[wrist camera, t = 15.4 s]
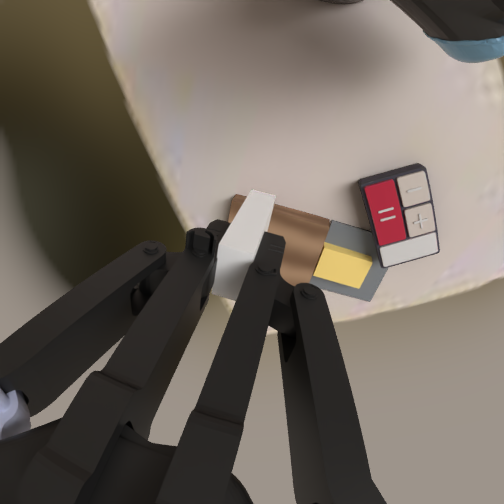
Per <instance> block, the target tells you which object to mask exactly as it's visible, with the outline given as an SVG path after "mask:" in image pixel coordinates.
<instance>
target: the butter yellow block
mask: <svg viewBox="0 0 504 504" xmlns="http://www.w3.org/2000/svg"><path fill="white" fill-rule="evenodd" d="M372 263H373V262H372V257H371V256H368V255H365V254H362V253H359V252H356V251H352V250H349V249H346V248H343V247H340V246H336V245H333V244H330V243H326V242H324V245H323V248H322V250H321V253H320V256H319V258H318V261H317V264H316V266H315V269H314V272H313V276H316V277H320V278H323V279H327V280H330V281H333V282H337V283H340V284H344V285H347V286H351V287H354V288H358V289H359V288H360V287H361V285H362V283H363V281H364V279H365V277H366V275H367V273H368V271H369V269H370V267H371V265H372Z"/></svg>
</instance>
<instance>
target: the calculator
mask: <svg viewBox="0 0 504 504" xmlns="http://www.w3.org/2000/svg"><path fill="white" fill-rule="evenodd" d="M358 183H359V187H360V190H361V193H362V197H363V200H364V204H365V208H366V211H367V215H368V219H369V222H370V226H371V230H372V234H373V238H374V243H375V247H376V251H377V256H378V260H379V263H380V266H381V268H387V267H391V266H395V265H398V264H402V263H405V262H409V261H413V260H416V259H420V258H423V257H426V256H430V255H433V254H437V253H439V251H440V249H439V240H438V232H437V225H436V218H435V212H434V206H433V200H432V194H431V189H430V184H429V179H428V175H427V170H426V168H425V167H424V166H422V165H421V164H419V163H417V164H413V165H410V166H406V167H402V168H399V169H395V170H391V171H388V172H384V173H381V174H377V175H373V176H370V177H366V178H363V179H360V180H359V181H358Z"/></svg>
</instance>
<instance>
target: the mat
mask: <svg viewBox="0 0 504 504" xmlns="http://www.w3.org/2000/svg"><path fill="white" fill-rule="evenodd" d="M325 242H326V243H330V244H333V245H336V246H340V247H343V248H346V249H349V250H352V251H356V252H359V253H362V254H365V255H368V256H371V257H372V262H373V263H372V265H371V267H370V269H369V271H368V273H367V275H366V277H365V279H364V281H363V283H362V285H361V287H360V288H359V289H358V288H354V287H351V286H347V285H344V284H340V283H337V282H333V281H330V280H327V279H323V278H320V277H316V276H313V274H312V277H311V279H310V282H309V283H310V284H313V285H315V286H317V287H318V288H320V289H324V290H328V291H331V292H335V293H339V294H343V295H346V296H350V297H354V298H358V299H362V300H366V301H369V302H370V301H371V299H372V298H373V296H374V294H375V292H376V290H377V288H378V286H379V285H380V283H381V281H382V279H383V277H384V275H385V273H386V271H387V269H388V267H387V268H381V266H380V263H379V260H378V256H377V251H376V247H375V243H374V238H373V234H372V232H369V231H366V230H363V229H360V228H357V227H353V226H350V225H347V224H343V223H340V222H337V221H333V220H332V222H331V225H330V228H329V231H328V234H327V237H326V239H325Z"/></svg>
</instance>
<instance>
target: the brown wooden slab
mask: <svg viewBox="0 0 504 504" xmlns="http://www.w3.org/2000/svg"><path fill="white" fill-rule="evenodd" d="M246 198H247V197H246V196H242V195H238V194H236V195H235V197H234V198H233V200H232V202H231V207H230V213H229V219H228V222H229V223H232V221H233V219H234V218H235V216H236V214H237V213H238V211H239V209H240V208H241V206H242V204H243V203H244V201H245V199H246ZM329 228H330V223H329V219H326V218H323V217H320V216H316V215H313V214H309V213H306V212H302V211H298V210H295V209H291V208H288V207H284V206H280V205H276V204H274V207H273V211H272V215H271V219H270V223H269V227H268V231H267V232H269V233H273V234H276V235H280V236H283V237H284V239H285V241H286V245H285V250H284V254H283V259H282V264H281V268H280V274H281V276H282V278H283V279H284V280H285V281H286V282H288V283H289V284H291V285H293V286H296V284H299V283H309V282H310V279H311V277H312V274H313V272H314V269H315V266H316V264H317V261H318V258H319V256H320V253H321V250H322V248H323V245H324V242H325V239H326V237H327V234H328V231H329Z"/></svg>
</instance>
